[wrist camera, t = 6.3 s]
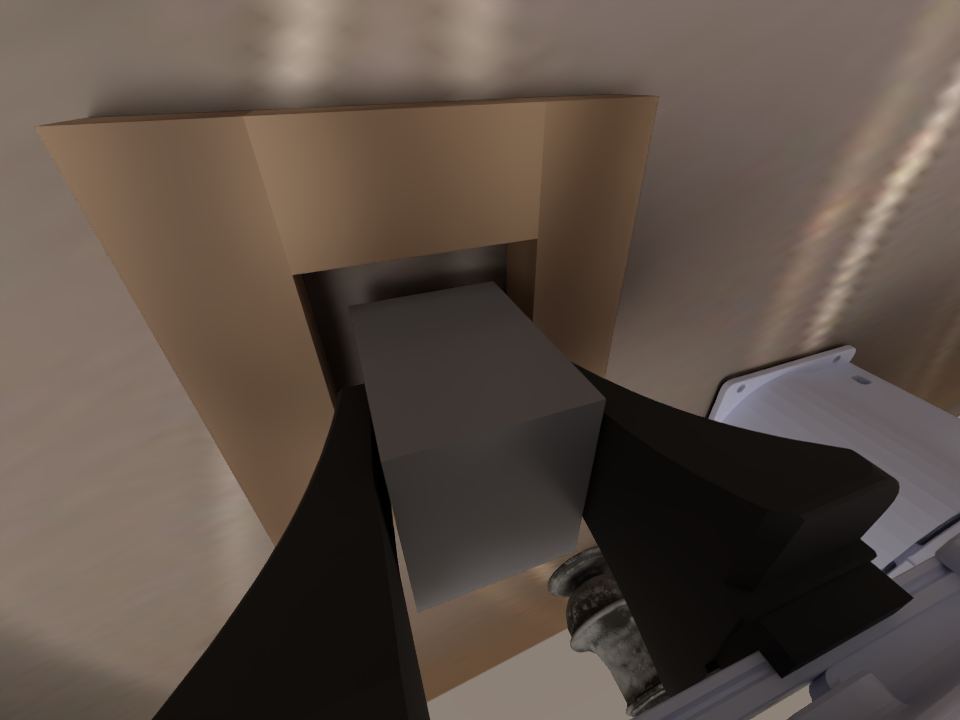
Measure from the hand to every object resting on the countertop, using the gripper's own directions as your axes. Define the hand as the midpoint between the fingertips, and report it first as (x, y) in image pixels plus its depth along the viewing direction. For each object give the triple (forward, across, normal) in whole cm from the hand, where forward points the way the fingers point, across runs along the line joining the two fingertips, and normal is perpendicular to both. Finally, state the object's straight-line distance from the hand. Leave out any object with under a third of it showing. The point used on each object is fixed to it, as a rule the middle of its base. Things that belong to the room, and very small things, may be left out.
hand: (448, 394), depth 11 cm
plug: (+2, 0, 0) cm, 2 cm away
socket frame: (+3, 0, 0) cm, 3 cm away
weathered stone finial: (+3, -9, +21) cm, 23 cm away
